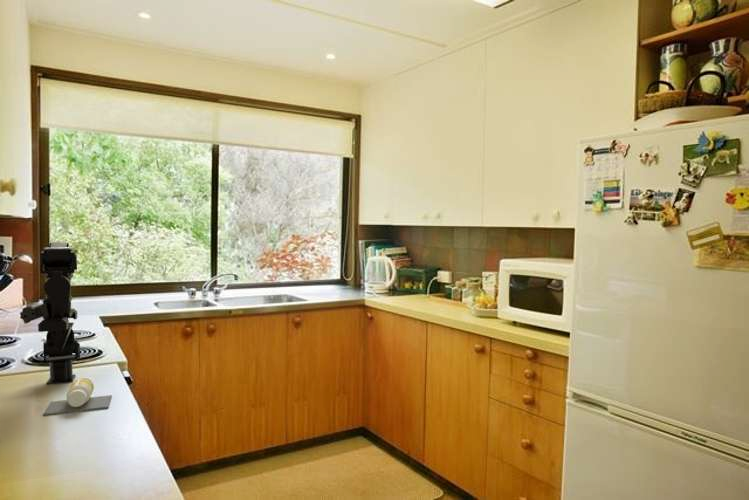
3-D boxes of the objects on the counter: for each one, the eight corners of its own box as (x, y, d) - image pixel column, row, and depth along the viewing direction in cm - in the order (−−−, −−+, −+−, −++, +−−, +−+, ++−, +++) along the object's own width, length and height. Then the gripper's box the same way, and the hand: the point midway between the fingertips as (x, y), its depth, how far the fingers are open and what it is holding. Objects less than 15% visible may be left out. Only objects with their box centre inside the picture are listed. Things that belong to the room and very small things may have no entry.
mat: (50, 403, 130) (50, 401, 130) (111, 397, 136) (111, 395, 136) (43, 415, 122) (43, 413, 122) (108, 408, 127) (108, 406, 127)
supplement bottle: (91, 374, 134) (87, 385, 126) (95, 393, 135) (91, 405, 126) (68, 380, 132) (62, 391, 124) (73, 399, 133) (67, 412, 124)
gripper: (31, 290, 141) (32, 345, 142) (13, 300, 124) (14, 362, 125) (77, 289, 145) (78, 342, 146) (65, 298, 128) (66, 358, 129)
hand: (59, 351), depth 136 cm, fingers closed
